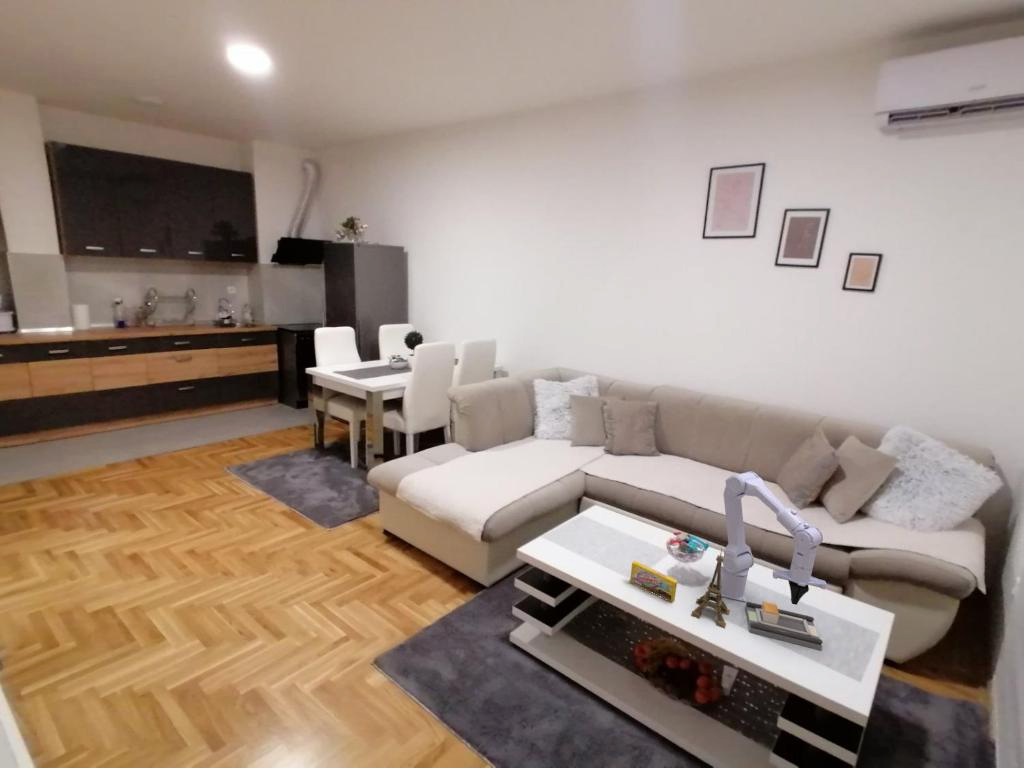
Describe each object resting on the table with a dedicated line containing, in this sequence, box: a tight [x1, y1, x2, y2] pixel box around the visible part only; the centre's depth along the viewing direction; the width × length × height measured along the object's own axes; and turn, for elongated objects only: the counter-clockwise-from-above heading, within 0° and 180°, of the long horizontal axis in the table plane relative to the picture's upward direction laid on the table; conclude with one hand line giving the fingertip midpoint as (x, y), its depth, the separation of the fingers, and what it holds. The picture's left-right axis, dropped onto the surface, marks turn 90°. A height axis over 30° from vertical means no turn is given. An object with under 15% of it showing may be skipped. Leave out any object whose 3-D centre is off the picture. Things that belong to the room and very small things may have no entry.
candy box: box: [629, 560, 678, 603], centre depth 177 cm, size 16×2×8 cm, turn 49°
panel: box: [744, 601, 824, 651], centre depth 164 cm, size 20×13×3 cm, turn 72°
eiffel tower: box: [690, 548, 731, 629], centre depth 166 cm, size 11×11×25 cm
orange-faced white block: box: [761, 600, 779, 625], centre depth 164 cm, size 4×5×4 cm
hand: (793, 602), depth 161 cm, fingers closed
